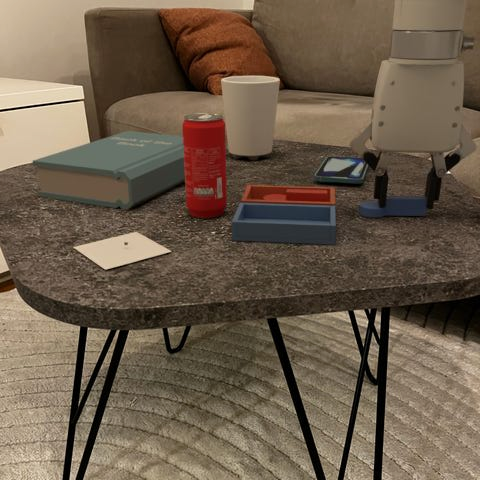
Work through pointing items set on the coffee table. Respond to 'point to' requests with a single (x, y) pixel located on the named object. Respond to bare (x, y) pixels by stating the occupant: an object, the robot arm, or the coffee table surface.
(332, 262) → the coffee table surface
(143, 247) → the coaster
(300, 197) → the red rounded block
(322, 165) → the smartphone
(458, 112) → the robot arm
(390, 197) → the blue rounded block
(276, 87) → the cup
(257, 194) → the red tray
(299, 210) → the blue tray
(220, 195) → the beverage can
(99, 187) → the book
